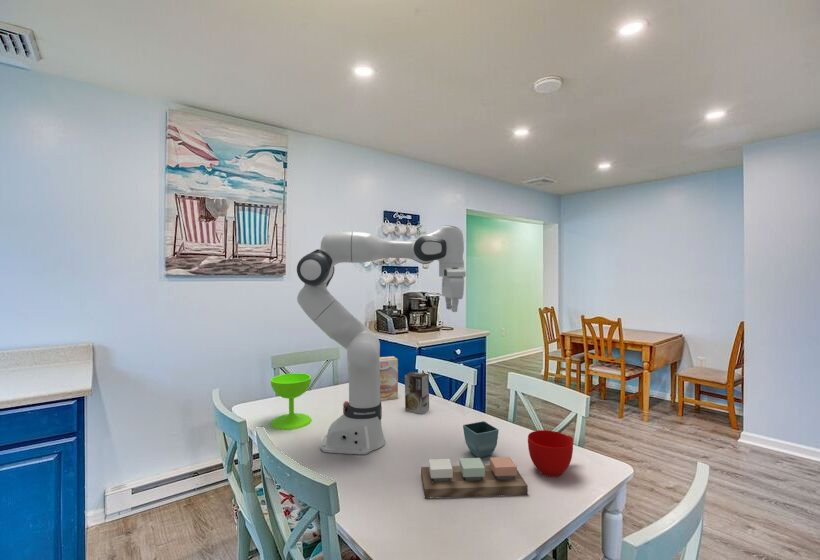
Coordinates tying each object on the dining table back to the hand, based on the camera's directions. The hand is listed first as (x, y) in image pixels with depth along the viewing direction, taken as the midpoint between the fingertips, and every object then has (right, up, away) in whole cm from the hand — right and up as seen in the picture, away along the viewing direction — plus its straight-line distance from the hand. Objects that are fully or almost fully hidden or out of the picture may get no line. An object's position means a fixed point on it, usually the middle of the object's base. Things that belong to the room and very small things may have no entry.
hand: (451, 310), depth 140 cm
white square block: (-6, -46, -29) cm, 55 cm away
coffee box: (-12, -47, +33) cm, 59 cm away
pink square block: (+12, -46, -28) cm, 55 cm away
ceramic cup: (+29, -47, -20) cm, 59 cm away
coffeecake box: (-29, -47, +50) cm, 74 cm away
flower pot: (+9, -47, -9) cm, 49 cm away
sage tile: (+3, -46, -28) cm, 54 cm away
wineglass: (-63, -47, +20) cm, 81 cm away
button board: (+3, -47, -28) cm, 55 cm away
